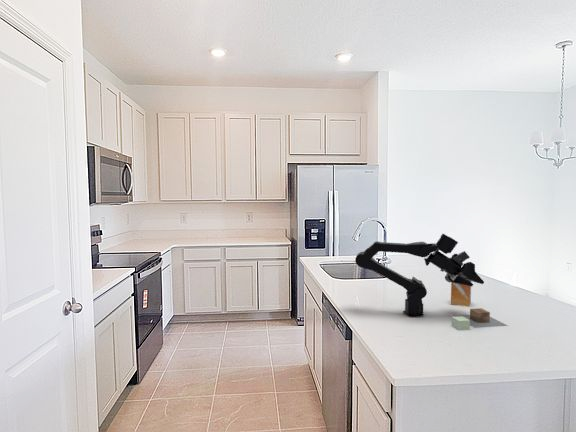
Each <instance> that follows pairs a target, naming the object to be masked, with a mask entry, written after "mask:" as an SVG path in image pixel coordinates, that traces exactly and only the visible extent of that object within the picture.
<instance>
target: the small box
mask: <svg viewBox="0 0 576 432" xmlns="http://www.w3.org/2000/svg"><path fill="white" fill-rule="evenodd" d="M470 282H471V283H472V281H470ZM450 283H451V282H450ZM471 303H472V286H467V285H462V284H456V283H451V284H450V305H453V306H463V307H464V306H465V307H471Z"/></svg>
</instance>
